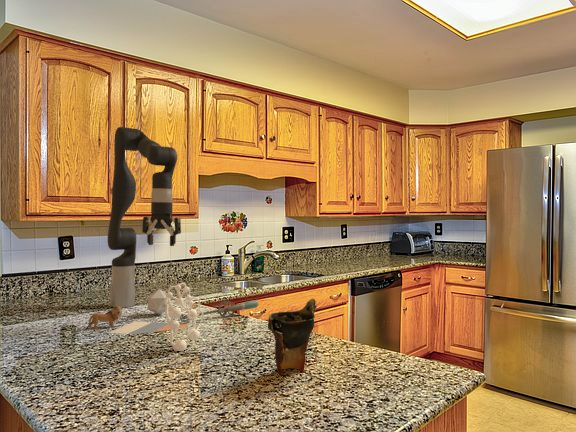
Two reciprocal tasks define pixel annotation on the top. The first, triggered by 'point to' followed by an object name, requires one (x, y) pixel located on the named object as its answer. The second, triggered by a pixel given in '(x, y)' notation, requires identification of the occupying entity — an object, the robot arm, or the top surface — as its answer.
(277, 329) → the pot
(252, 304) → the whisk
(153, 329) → the track board
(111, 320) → the lion figurine
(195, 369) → the top surface
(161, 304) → the die
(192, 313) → the molecule model
